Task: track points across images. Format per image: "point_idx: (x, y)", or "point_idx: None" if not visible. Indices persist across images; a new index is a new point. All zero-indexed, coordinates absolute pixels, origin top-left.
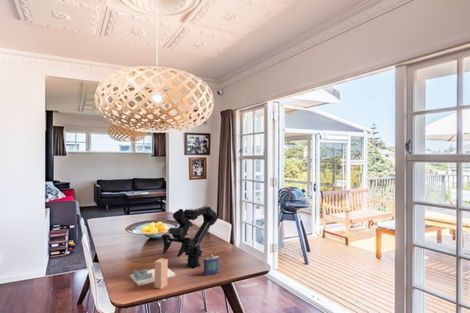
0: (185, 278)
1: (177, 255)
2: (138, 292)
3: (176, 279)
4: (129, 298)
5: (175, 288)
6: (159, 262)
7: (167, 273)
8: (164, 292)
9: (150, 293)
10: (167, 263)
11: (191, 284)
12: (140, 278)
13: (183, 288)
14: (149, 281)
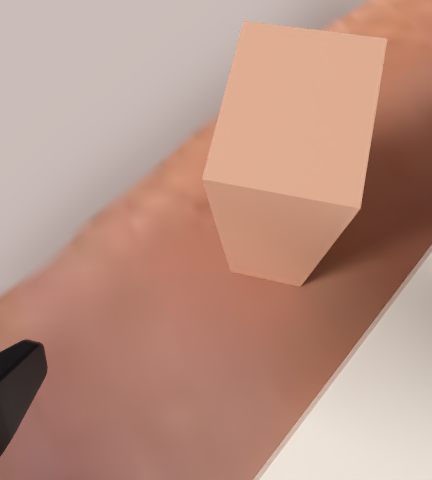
0: (116, 447)
1: (33, 348)
2: (392, 104)
3: (195, 403)
4: (397, 22)
5: (140, 230)
6: (279, 26)
7: (223, 246)
8: (198, 153)
9: None
10: (210, 202)
11: (30, 331)
12: None
13: (77, 246)
14: (416, 269)
